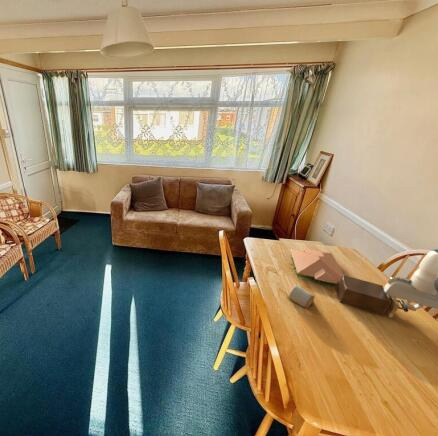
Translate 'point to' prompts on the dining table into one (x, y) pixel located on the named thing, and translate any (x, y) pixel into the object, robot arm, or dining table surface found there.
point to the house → (317, 266)
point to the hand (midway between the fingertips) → (409, 308)
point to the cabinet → (362, 294)
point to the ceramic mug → (301, 296)
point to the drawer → (394, 306)
